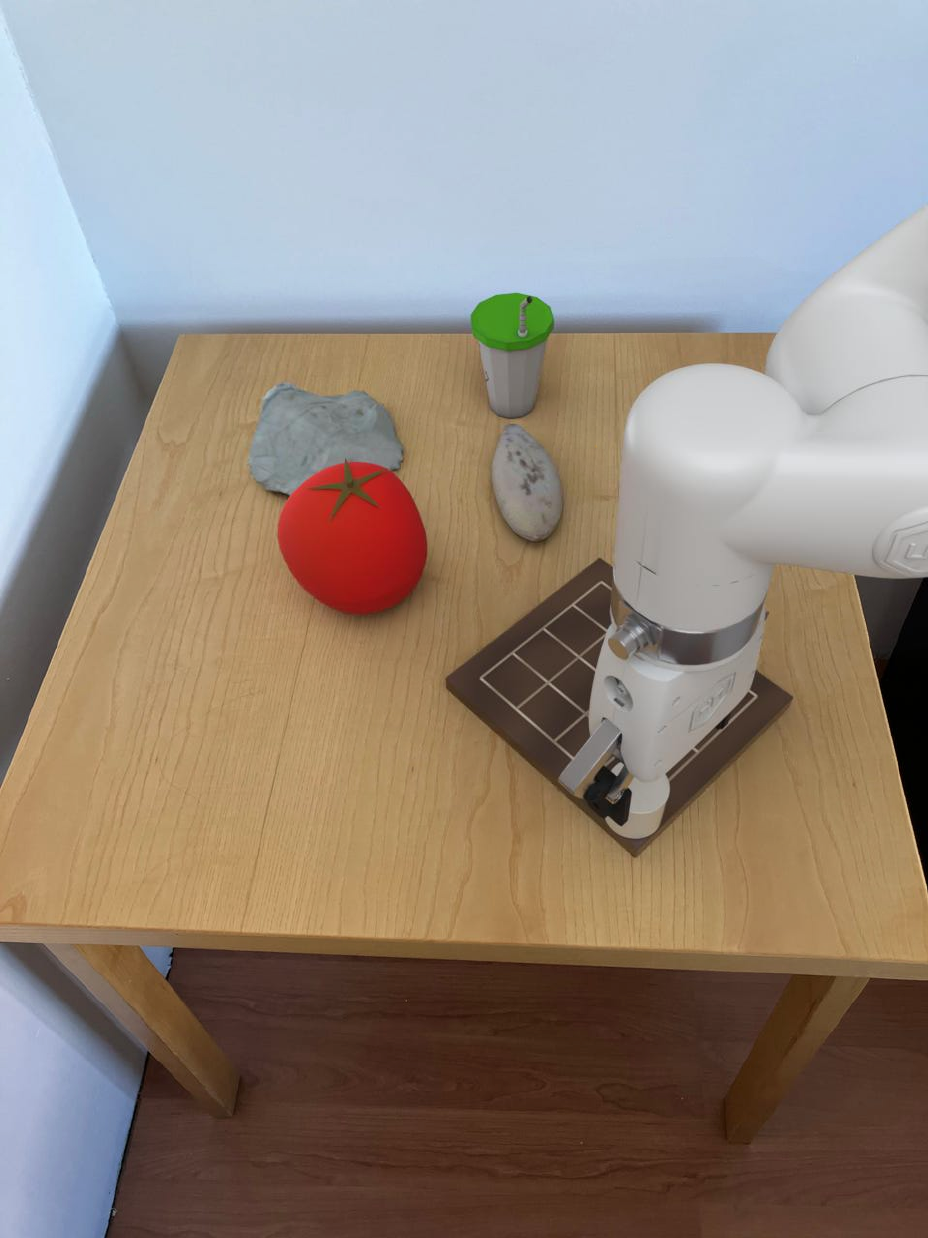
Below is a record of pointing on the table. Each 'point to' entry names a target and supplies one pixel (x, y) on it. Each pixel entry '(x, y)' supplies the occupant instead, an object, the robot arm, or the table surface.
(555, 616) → the board
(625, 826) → the white canister
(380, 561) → the tomato
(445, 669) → the table surface
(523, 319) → the cup
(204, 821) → the table surface
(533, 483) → the decorative stone
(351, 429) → the stone
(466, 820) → the table surface
